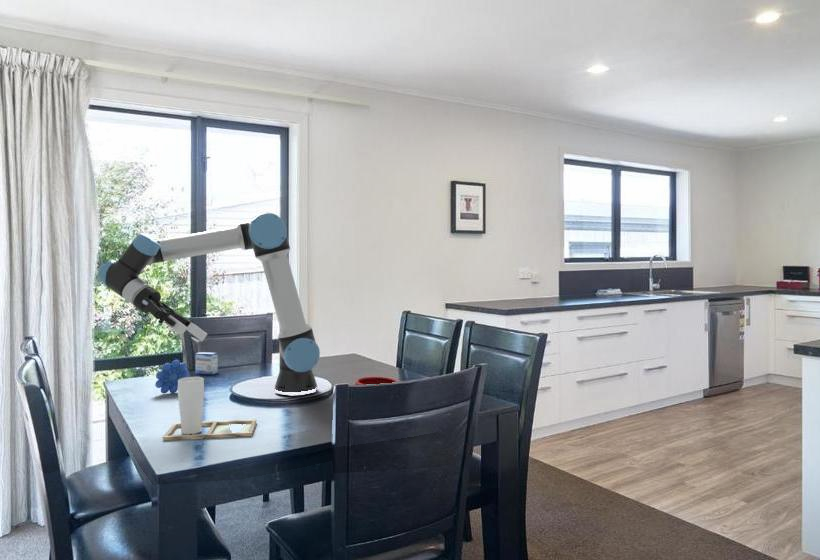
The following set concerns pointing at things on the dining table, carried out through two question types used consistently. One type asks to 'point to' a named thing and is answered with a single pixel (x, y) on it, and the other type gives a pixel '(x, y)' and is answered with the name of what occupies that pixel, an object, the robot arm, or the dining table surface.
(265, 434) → the dining table surface
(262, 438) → the dining table surface
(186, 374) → the grapes
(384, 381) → the plant pot
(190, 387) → the drinking glass
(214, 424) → the wooden window frame
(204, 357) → the medicine box
